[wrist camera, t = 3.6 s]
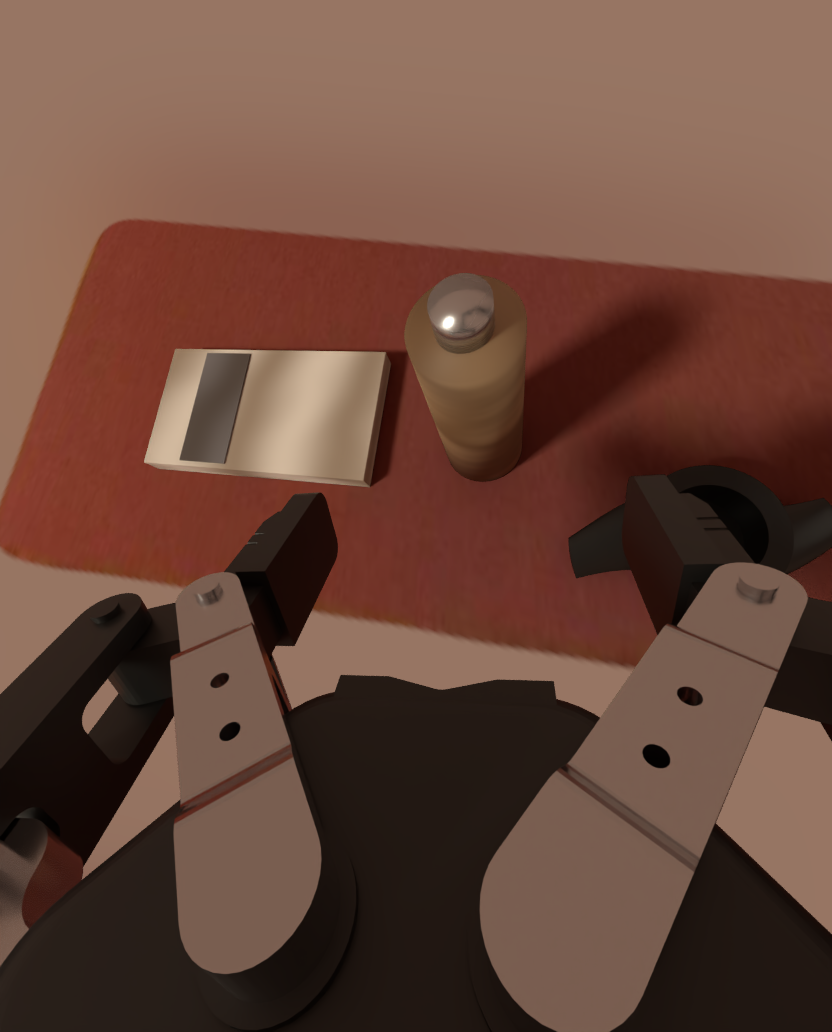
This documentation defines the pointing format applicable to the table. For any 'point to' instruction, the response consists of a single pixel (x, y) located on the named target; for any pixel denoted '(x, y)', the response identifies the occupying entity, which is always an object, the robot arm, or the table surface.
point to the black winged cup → (739, 505)
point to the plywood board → (272, 414)
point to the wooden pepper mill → (472, 370)
